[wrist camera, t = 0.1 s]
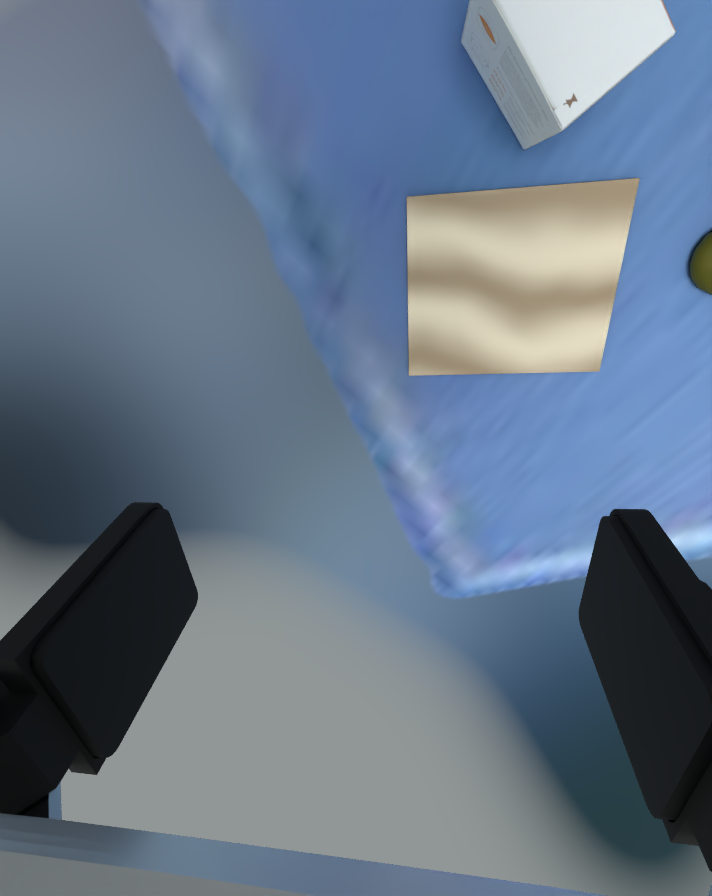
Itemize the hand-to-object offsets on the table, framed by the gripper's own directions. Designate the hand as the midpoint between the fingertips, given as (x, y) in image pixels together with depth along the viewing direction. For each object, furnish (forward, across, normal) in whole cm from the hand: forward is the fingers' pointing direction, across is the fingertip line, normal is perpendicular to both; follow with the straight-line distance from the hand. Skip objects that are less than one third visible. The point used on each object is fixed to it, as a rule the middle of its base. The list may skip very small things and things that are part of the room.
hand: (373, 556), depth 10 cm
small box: (+31, -8, -14) cm, 35 cm away
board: (+31, -8, 0) cm, 32 cm away
